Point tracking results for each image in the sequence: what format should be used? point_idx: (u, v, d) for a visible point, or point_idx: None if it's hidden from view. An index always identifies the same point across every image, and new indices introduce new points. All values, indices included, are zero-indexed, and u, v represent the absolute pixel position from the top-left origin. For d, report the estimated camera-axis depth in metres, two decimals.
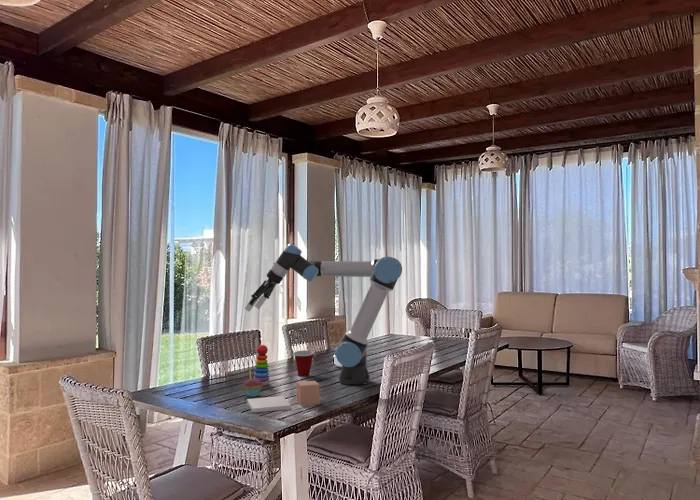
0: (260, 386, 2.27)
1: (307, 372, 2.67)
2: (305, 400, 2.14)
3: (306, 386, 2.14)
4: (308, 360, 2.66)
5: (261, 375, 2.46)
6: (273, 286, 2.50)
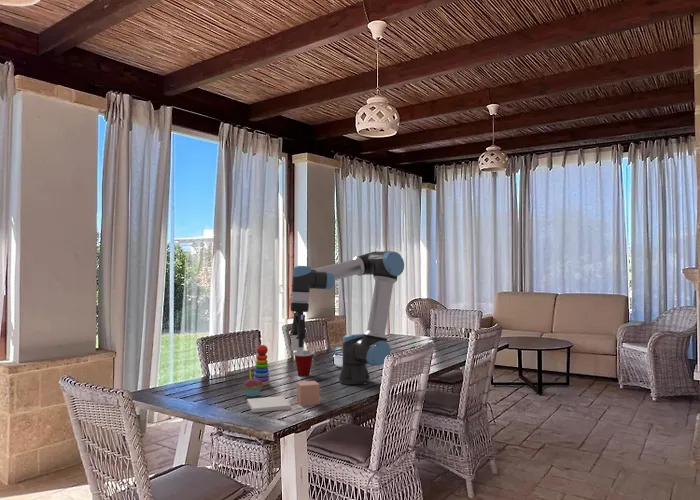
0: (260, 386, 2.27)
1: (307, 372, 2.67)
2: (305, 400, 2.14)
3: (306, 386, 2.14)
4: (308, 360, 2.66)
5: (261, 375, 2.46)
6: None
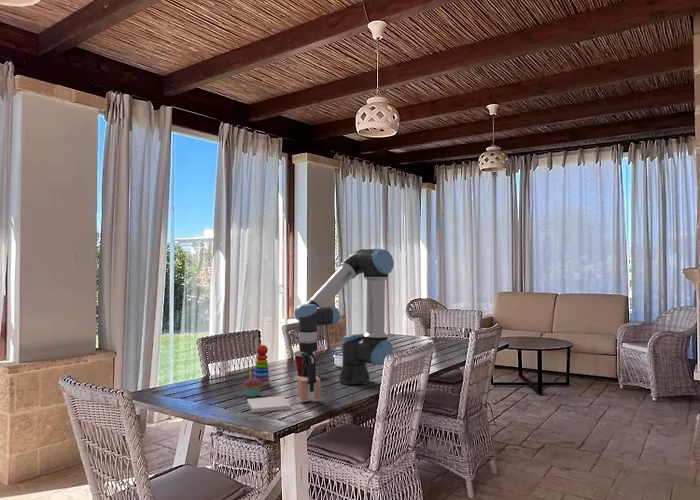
0: (260, 386, 2.27)
1: None
2: (306, 395, 2.14)
3: (307, 381, 2.14)
4: None
5: (261, 375, 2.46)
6: None
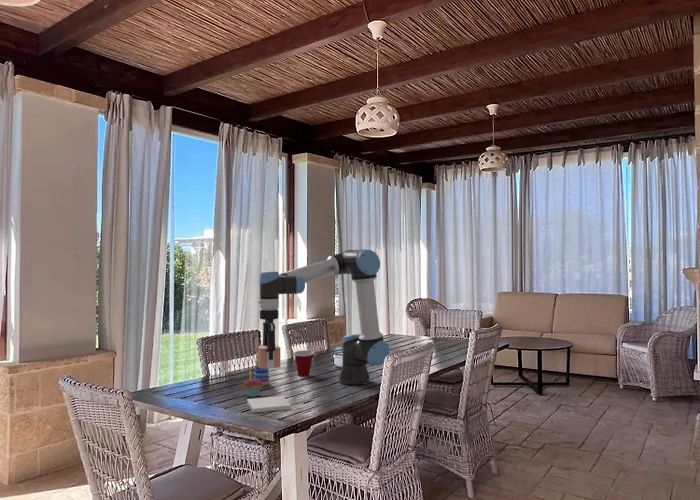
0: (260, 386, 2.27)
1: (307, 372, 2.67)
2: (265, 363, 2.08)
3: (266, 349, 2.09)
4: (308, 360, 2.66)
5: (261, 375, 2.46)
6: None
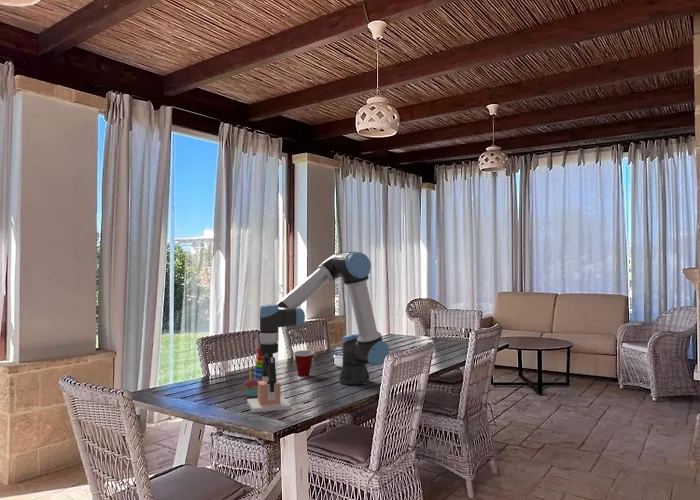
0: None
1: (307, 372, 2.67)
2: (265, 399, 2.08)
3: (266, 385, 2.08)
4: (308, 360, 2.66)
5: (261, 375, 2.46)
6: None
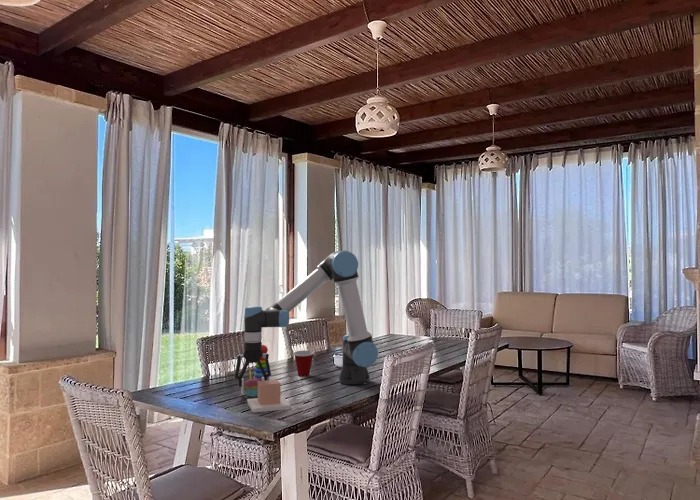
0: None
1: (307, 372, 2.67)
2: (265, 399, 2.08)
3: (266, 385, 2.08)
4: (308, 360, 2.66)
5: (261, 375, 2.46)
6: (256, 356, 2.28)
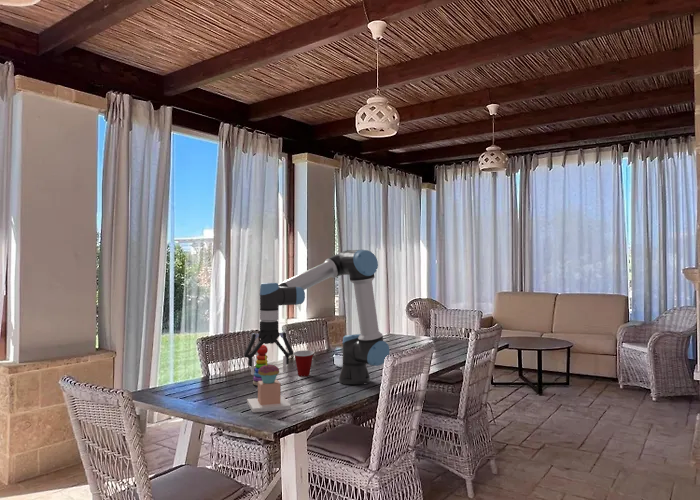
0: (277, 372, 2.11)
1: (307, 372, 2.67)
2: (265, 399, 2.08)
3: (266, 385, 2.09)
4: (308, 360, 2.66)
5: None
6: (273, 337, 2.11)
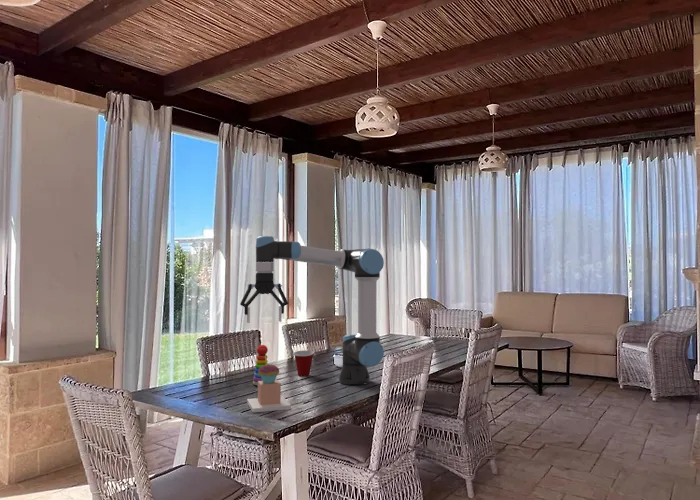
0: (277, 372, 2.11)
1: (307, 372, 2.67)
2: (265, 399, 2.08)
3: (266, 385, 2.09)
4: (308, 360, 2.66)
5: None
6: (268, 287, 2.22)
